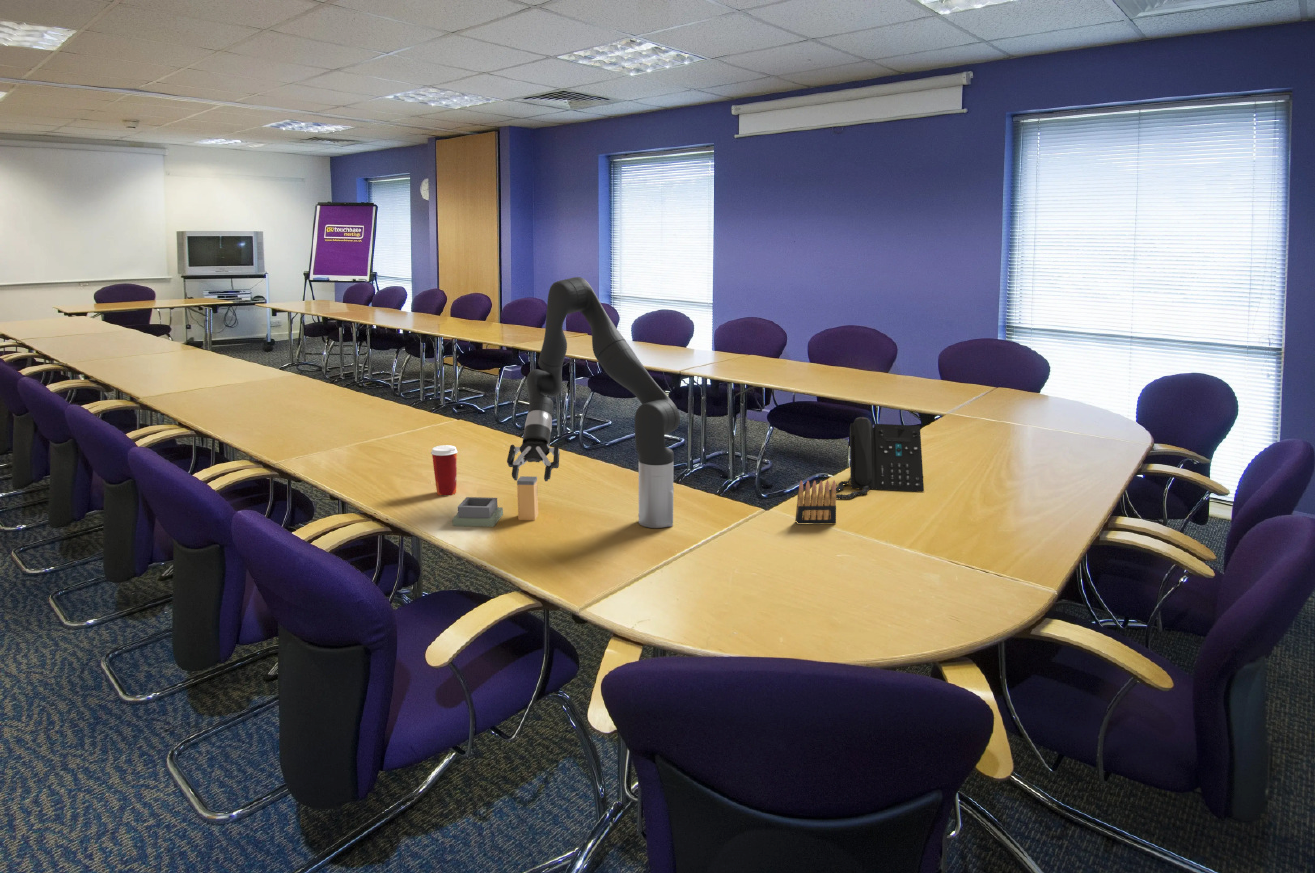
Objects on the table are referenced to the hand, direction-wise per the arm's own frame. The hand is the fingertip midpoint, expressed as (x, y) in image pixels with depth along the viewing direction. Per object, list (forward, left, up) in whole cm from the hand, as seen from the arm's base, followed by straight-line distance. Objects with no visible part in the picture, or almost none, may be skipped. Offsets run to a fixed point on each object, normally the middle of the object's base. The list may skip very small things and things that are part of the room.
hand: (530, 479), depth 222 cm
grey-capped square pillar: (0, +4, -10) cm, 10 cm away
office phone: (-100, -31, -10) cm, 106 cm away
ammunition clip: (-78, +3, -10) cm, 79 cm away
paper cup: (+29, -16, -10) cm, 34 cm away
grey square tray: (+13, +7, -9) cm, 18 cm away
